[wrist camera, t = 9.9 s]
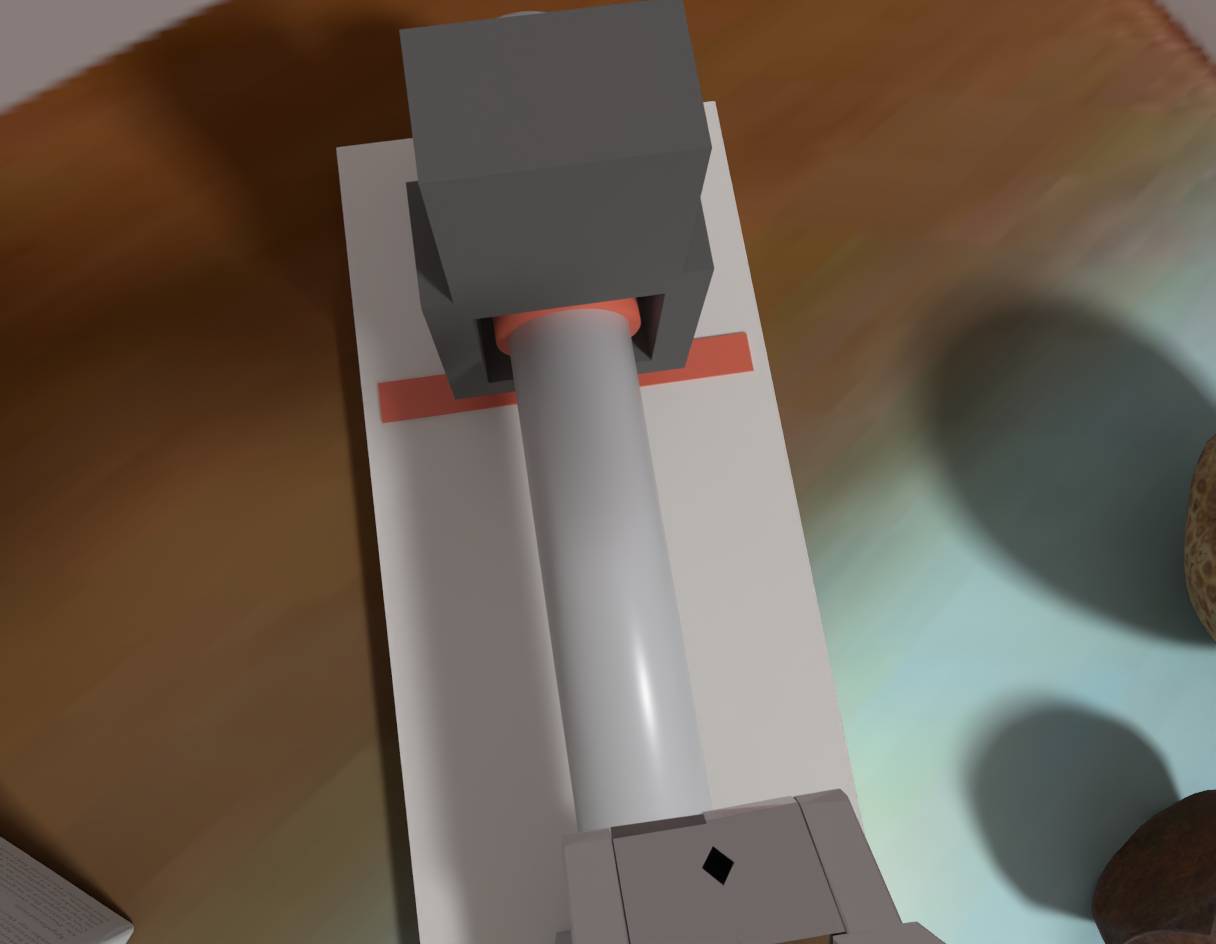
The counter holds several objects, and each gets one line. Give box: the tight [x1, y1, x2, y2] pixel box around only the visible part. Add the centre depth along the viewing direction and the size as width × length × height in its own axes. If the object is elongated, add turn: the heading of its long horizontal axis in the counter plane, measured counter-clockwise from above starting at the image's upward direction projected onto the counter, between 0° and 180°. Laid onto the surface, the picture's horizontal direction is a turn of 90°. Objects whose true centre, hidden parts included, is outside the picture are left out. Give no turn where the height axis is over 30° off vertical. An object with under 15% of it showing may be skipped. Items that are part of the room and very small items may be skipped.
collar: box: [399, 0, 714, 400], centre depth 23 cm, size 3×6×11 cm, turn 99°
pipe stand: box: [336, 11, 865, 944], centre depth 26 cm, size 27×12×8 cm, turn 9°
